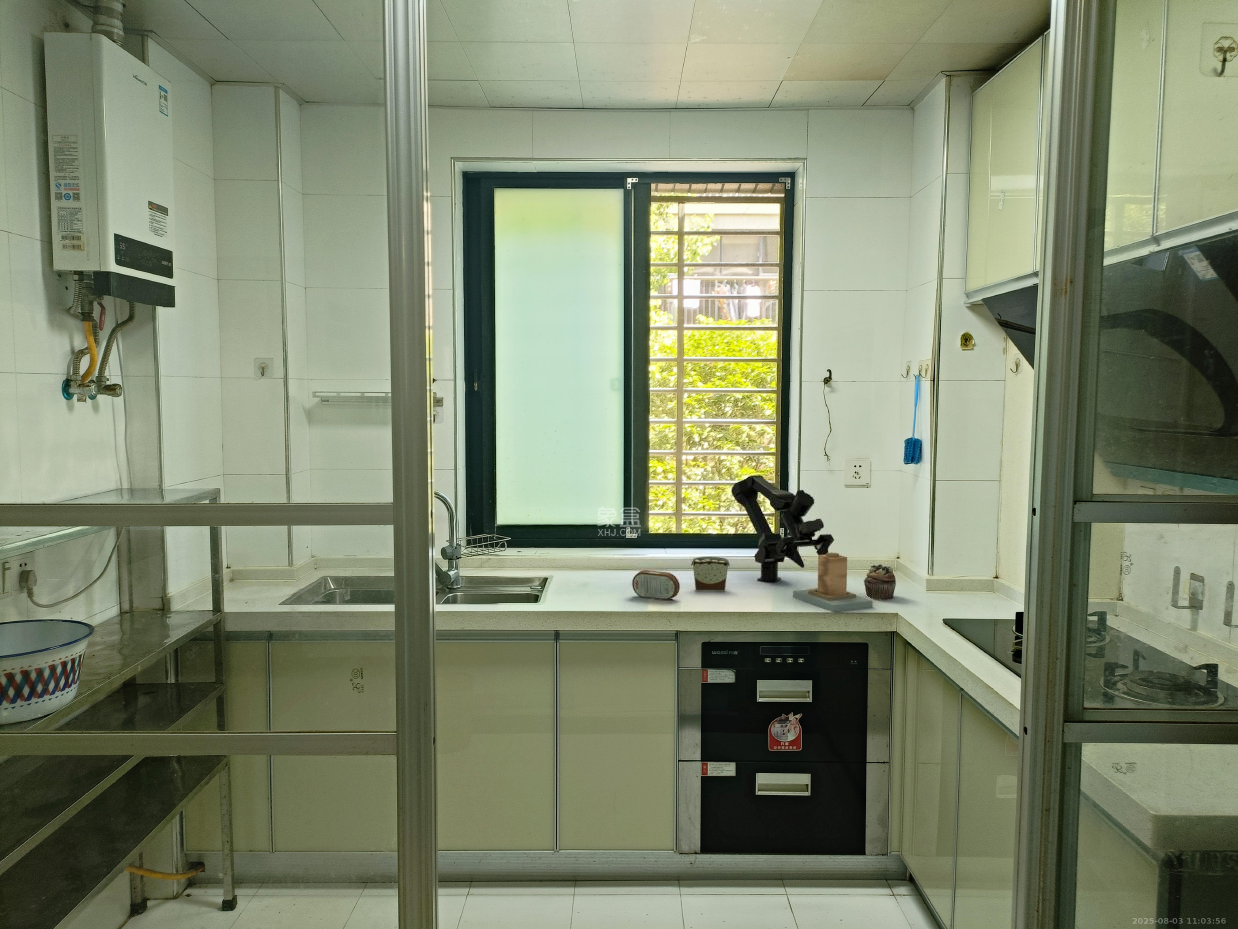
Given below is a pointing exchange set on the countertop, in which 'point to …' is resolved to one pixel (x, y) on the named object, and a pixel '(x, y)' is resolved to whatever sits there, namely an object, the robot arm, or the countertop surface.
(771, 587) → the countertop surface
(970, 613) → the countertop surface
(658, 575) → the tin
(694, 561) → the food container
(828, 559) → the terracotta block
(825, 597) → the base slab
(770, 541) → the robot arm
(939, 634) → the countertop surface
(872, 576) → the cupcake
